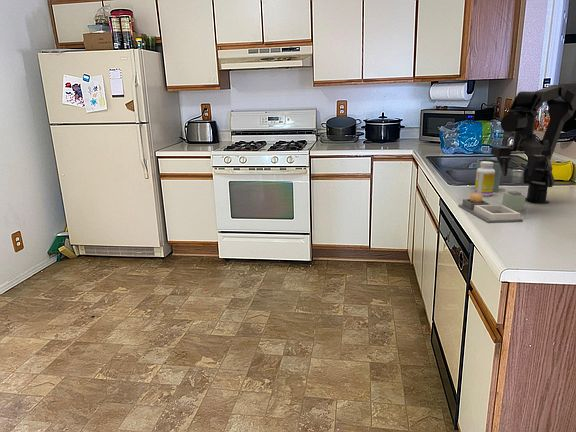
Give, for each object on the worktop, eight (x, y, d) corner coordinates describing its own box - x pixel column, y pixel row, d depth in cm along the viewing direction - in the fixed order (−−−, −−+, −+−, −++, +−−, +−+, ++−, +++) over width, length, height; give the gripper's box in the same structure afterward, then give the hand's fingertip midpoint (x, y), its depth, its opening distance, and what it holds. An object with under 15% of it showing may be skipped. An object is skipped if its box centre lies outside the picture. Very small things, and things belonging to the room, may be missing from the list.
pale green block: (501, 206, 159) (503, 190, 157) (513, 205, 159) (515, 190, 158) (511, 210, 153) (513, 194, 152) (523, 210, 154) (526, 194, 152)
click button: (467, 201, 156) (468, 193, 155) (477, 201, 157) (478, 192, 156) (472, 204, 152) (473, 196, 151) (483, 204, 153) (484, 195, 152)
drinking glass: (493, 186, 189) (496, 158, 185) (505, 192, 179) (509, 162, 176) (469, 186, 188) (472, 158, 185) (480, 192, 179) (484, 162, 175)
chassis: (458, 206, 158) (459, 198, 158) (488, 205, 160) (489, 197, 159) (487, 222, 139) (488, 214, 139) (522, 221, 140) (523, 213, 140)
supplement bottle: (495, 194, 175) (500, 162, 171) (485, 197, 171) (490, 164, 167) (480, 191, 180) (484, 160, 176) (470, 193, 176) (474, 161, 173)
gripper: (511, 133, 140) (505, 181, 145) (566, 132, 142) (558, 180, 146) (492, 129, 151) (487, 174, 155) (544, 128, 152) (537, 173, 157)
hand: (517, 176), depth 153 cm, fingers open, 9 cm apart
